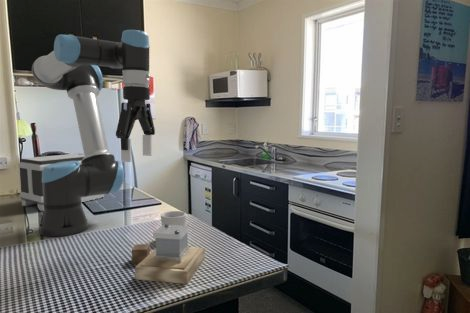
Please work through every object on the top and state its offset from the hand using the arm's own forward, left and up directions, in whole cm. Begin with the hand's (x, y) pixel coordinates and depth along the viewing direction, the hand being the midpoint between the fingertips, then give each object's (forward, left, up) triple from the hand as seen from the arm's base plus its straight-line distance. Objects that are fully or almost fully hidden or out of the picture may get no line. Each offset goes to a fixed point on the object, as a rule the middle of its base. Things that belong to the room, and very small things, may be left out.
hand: (137, 158), depth 105 cm
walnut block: (+6, -12, -27) cm, 30 cm away
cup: (+8, +8, -27) cm, 29 cm away
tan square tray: (+16, -15, -26) cm, 35 cm away
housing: (+16, -15, -23) cm, 32 cm away
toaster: (-58, +46, -27) cm, 78 cm away
